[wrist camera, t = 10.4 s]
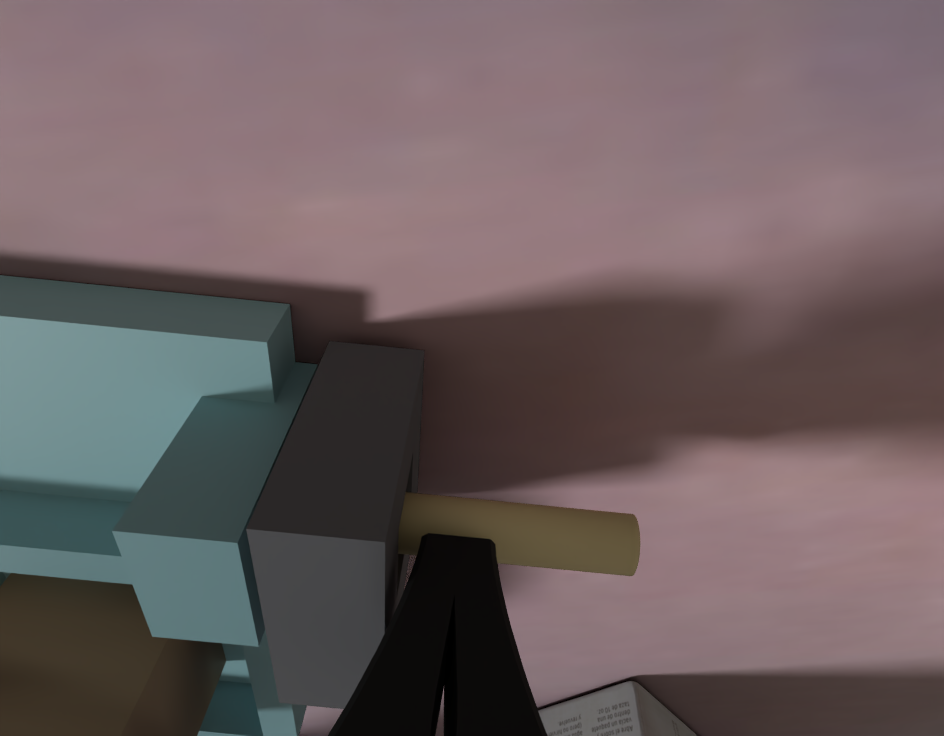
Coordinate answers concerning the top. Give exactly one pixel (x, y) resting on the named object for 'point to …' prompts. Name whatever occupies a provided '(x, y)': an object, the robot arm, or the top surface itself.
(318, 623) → the block
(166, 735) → the brown wooden block
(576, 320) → the top surface
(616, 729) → the coffee box
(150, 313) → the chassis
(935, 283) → the top surface
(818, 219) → the top surface
